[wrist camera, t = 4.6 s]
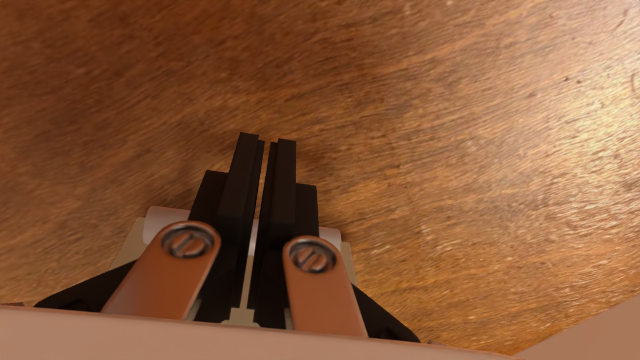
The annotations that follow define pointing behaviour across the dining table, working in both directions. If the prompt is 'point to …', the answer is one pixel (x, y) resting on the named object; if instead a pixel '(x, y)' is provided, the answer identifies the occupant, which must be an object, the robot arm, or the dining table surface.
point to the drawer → (164, 216)
